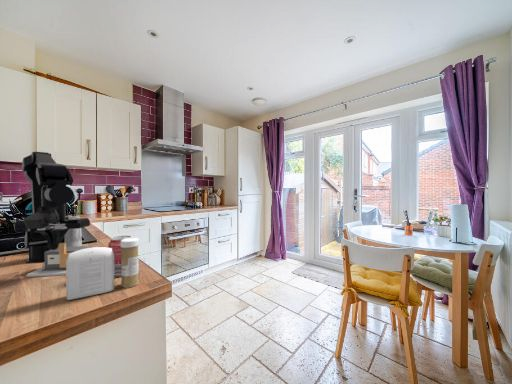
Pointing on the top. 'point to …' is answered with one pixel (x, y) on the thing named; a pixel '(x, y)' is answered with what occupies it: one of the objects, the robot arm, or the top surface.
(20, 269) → the top surface
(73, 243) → the energy drink can
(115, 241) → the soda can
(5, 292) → the top surface
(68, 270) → the grey rounded-corner block
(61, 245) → the wooden block
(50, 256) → the grey and white panel
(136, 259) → the sprinkles bottle
